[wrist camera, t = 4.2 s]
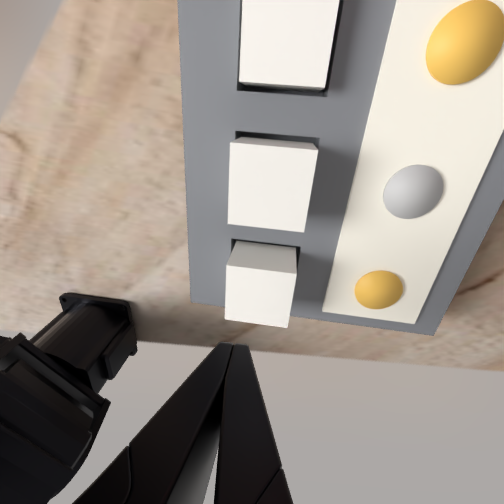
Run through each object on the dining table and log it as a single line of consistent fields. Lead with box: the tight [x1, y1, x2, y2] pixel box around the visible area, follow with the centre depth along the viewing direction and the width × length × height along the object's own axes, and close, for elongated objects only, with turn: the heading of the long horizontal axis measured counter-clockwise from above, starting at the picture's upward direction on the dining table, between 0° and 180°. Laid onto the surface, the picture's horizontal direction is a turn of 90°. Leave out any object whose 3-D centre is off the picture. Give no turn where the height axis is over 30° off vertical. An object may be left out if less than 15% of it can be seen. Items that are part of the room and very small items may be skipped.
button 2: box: [225, 241, 297, 328], centre depth 17 cm, size 4×4×3 cm
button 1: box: [239, 0, 339, 92], centre depth 13 cm, size 4×4×3 cm
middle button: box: [228, 137, 318, 232], centre depth 14 cm, size 4×4×3 cm
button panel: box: [178, 0, 504, 336], centre depth 16 cm, size 17×19×4 cm
